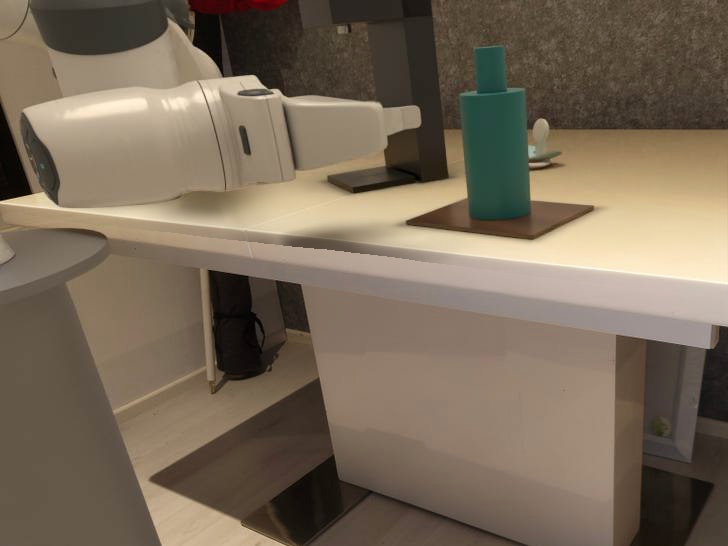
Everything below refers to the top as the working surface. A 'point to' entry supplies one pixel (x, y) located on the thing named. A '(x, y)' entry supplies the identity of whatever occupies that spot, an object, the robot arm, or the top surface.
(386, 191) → the top surface
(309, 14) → the dark post on base
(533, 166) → the pacifier
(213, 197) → the top surface
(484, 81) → the bottle
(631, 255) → the top surface
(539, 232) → the board
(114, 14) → the robot arm
